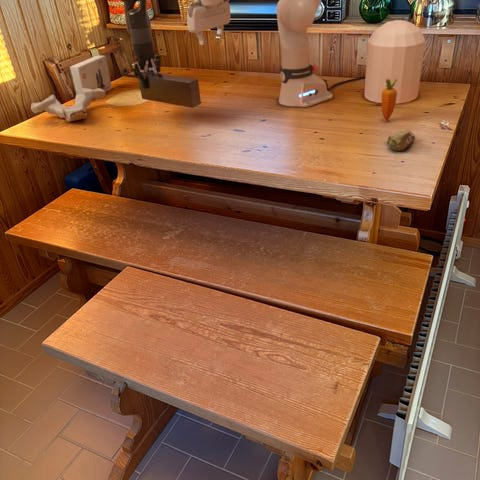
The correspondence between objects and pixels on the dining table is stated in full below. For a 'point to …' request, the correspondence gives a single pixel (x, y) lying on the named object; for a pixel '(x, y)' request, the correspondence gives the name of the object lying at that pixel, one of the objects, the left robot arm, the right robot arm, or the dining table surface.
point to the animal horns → (72, 111)
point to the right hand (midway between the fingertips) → (211, 41)
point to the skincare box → (91, 74)
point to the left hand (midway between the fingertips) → (150, 86)
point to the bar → (171, 90)
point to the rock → (400, 140)
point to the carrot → (388, 99)
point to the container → (394, 61)
